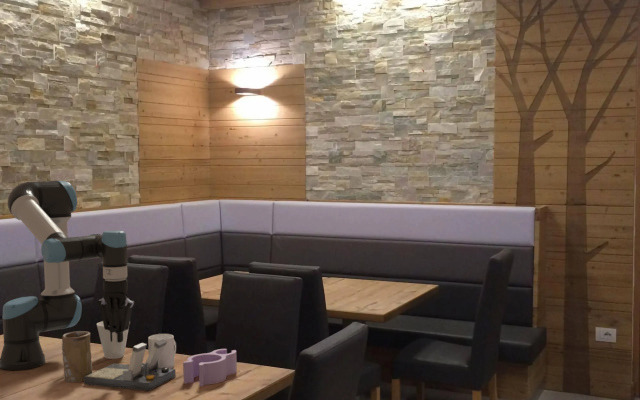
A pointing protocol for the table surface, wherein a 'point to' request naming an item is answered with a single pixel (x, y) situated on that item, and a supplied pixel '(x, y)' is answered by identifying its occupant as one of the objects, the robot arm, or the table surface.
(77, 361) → the mug
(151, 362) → the toggle
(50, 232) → the robot arm
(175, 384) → the table surface
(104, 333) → the cup
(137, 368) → the toggle
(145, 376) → the panel
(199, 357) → the clip
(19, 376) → the table surface
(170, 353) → the mug
